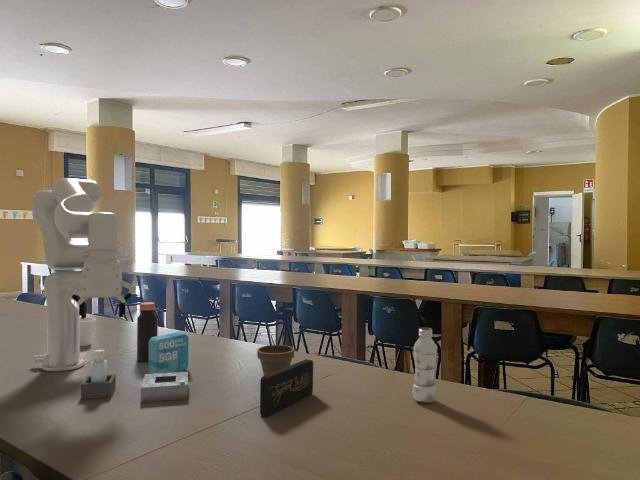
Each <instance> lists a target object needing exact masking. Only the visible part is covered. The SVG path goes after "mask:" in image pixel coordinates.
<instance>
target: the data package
mask: <svg viewBox="0 0 640 480" xmlns="http://www.w3.org/2000/svg"><path fill="white" fill-rule="evenodd" d="M189 340H190V339H189V336H188V334H185V333H182V332H172V333H167V334H162V335H161V334H160V335H157V336H156V337H152V338H151V339H150V340H149V362H148V374H157V373H173V372H186V370H187V369H188V368H189Z"/></svg>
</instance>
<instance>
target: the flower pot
mask: <svg viewBox="0 0 640 480" xmlns="http://www.w3.org/2000/svg"><path fill="white" fill-rule="evenodd" d="M256 353H257V355H256V356H257V359H258V360H259V361H260V364H261V368H262V369H261V370H262V373H263V376H264V375H267V374H270V373H272V372H275V371H277V370H280V369H283V368H285V367H288V366H290V365H292V364H291V363H292V360H293V358H295V348H294V347H293V346H291V345H290V346H289V345H286V344H269V345H265V346H260V347H259V348H257V349H256Z"/></svg>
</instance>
